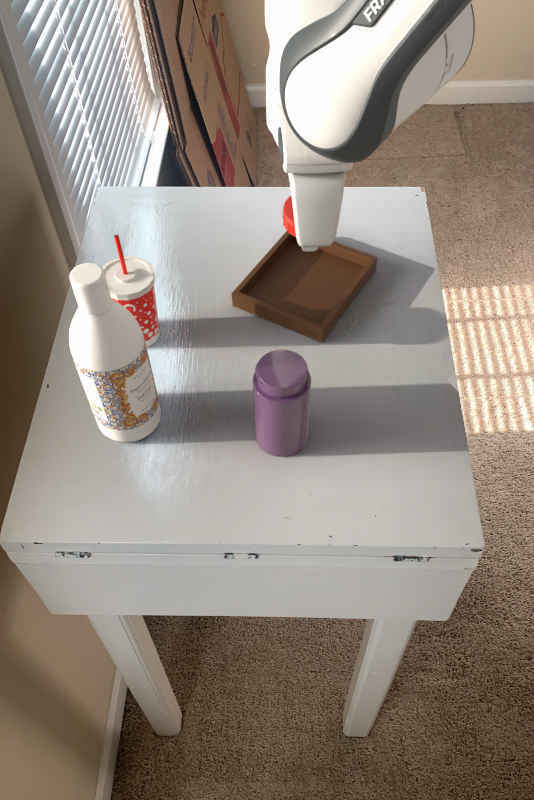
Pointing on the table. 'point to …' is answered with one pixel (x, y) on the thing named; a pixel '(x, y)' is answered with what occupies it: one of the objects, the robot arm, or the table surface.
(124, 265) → the beverage cup
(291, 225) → the lid
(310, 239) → the robot arm
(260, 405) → the jar
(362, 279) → the tray
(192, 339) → the table surface
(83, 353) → the bath foam
